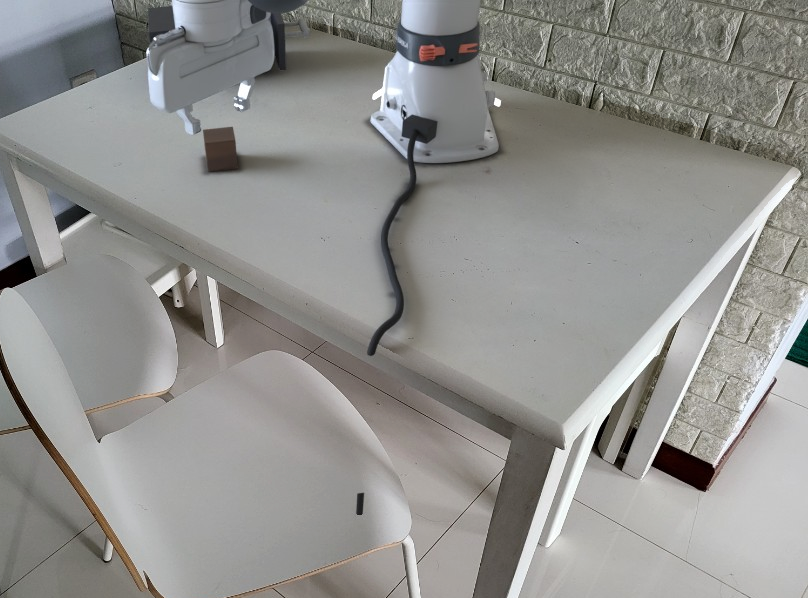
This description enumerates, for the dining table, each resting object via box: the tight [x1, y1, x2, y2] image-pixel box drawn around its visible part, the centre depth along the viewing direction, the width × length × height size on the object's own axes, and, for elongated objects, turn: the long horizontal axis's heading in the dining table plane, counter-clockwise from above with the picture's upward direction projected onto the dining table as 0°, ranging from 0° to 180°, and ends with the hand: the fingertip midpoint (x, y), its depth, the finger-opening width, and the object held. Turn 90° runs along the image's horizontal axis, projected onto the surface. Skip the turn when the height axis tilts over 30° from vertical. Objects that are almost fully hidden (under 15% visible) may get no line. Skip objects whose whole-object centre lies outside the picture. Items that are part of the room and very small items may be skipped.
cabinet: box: [147, 5, 175, 46], centre depth 132 cm, size 15×13×10 cm
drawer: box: [270, 13, 311, 71], centre depth 132 cm, size 18×11×8 cm, turn 97°
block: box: [202, 126, 239, 173], centre depth 109 cm, size 4×4×4 cm
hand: (218, 120), depth 105 cm, fingers open, 8 cm apart
